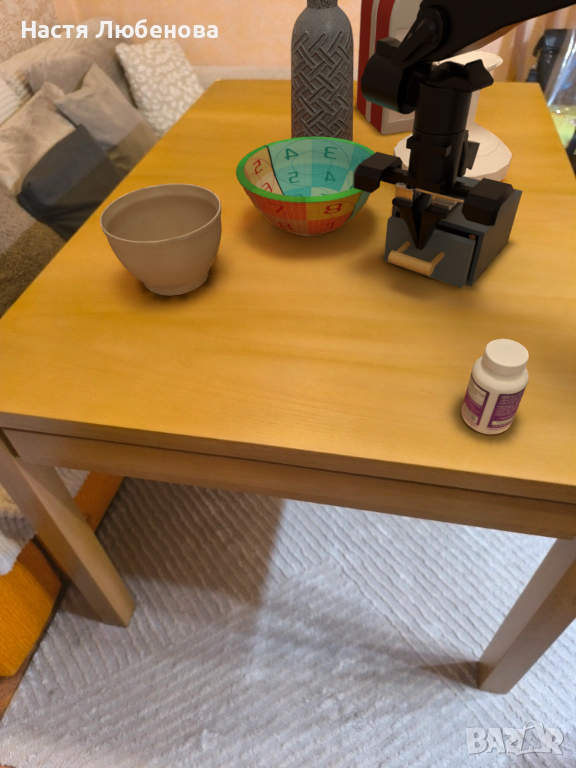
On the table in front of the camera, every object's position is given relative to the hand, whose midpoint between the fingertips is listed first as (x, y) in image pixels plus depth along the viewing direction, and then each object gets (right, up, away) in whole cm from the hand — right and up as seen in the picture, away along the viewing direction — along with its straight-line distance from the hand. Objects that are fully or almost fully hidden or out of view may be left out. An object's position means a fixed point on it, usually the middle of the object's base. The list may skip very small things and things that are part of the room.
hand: (420, 248), depth 70 cm
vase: (-11, +28, +36) cm, 47 cm away
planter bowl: (-34, -2, +8) cm, 35 cm away
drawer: (+3, 0, +7) cm, 8 cm away
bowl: (-14, +8, +17) cm, 24 cm away
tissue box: (+8, +42, +48) cm, 65 cm away
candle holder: (+11, +19, +26) cm, 34 cm away
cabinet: (+7, +2, +10) cm, 12 cm away
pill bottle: (+4, -22, -12) cm, 25 cm away
